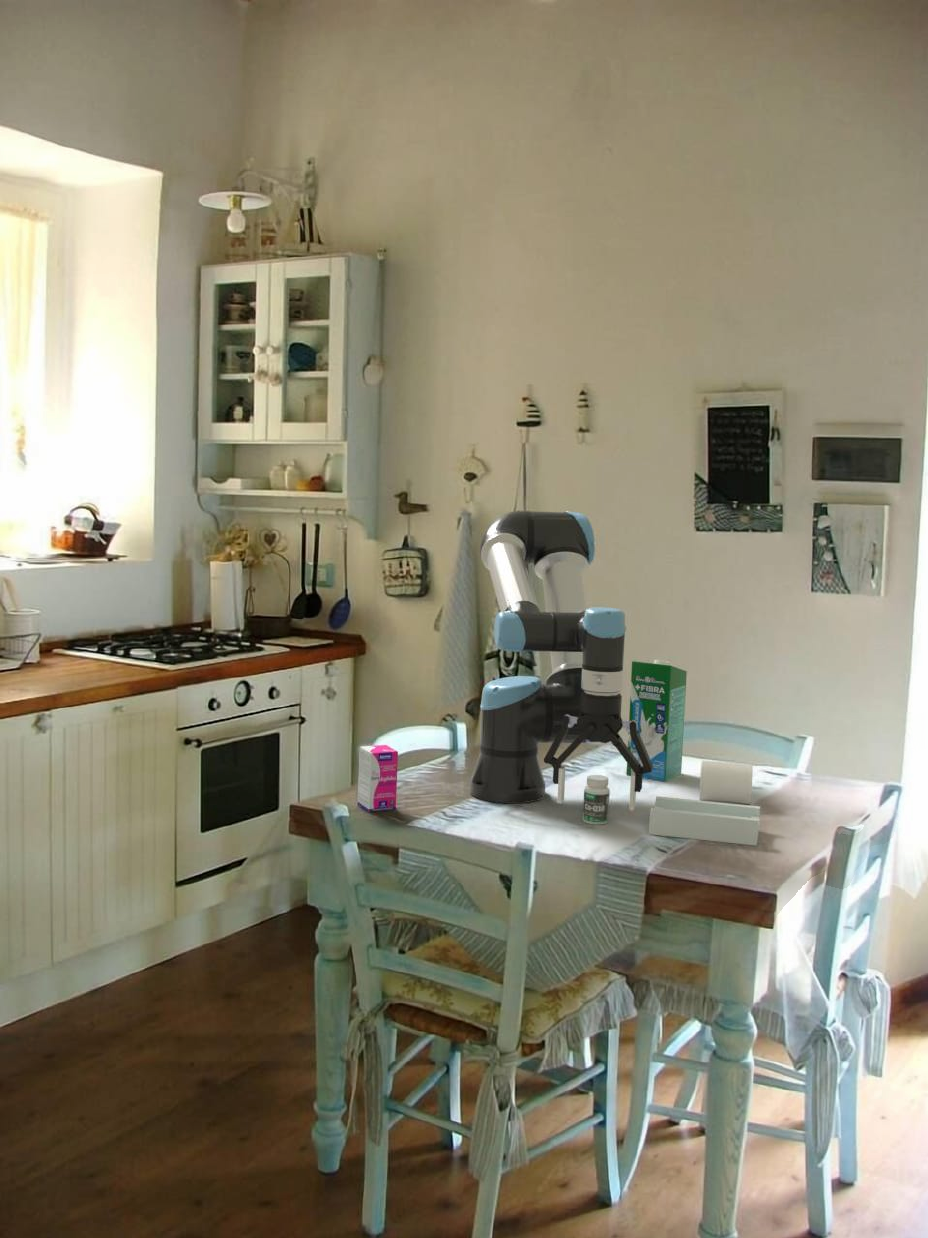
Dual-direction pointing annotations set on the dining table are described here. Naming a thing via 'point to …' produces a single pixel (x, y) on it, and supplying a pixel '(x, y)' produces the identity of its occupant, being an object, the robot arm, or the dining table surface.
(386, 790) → the supplement box
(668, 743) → the milk carton
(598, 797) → the pill bottle
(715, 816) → the tray
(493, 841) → the dining table surface
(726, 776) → the mug
